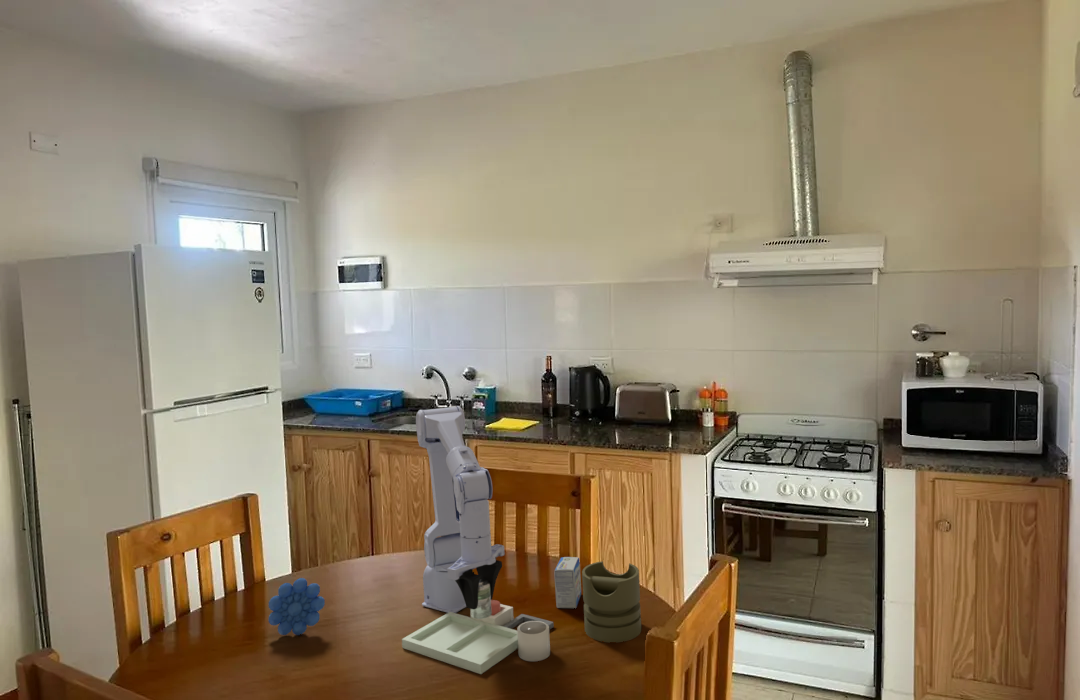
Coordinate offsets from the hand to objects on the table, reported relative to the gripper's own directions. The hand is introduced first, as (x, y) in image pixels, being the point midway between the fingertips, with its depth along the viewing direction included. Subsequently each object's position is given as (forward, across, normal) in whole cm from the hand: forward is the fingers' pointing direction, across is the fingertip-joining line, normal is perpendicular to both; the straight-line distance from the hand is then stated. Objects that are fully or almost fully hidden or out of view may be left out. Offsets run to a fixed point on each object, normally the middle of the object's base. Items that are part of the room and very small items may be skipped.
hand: (479, 603), depth 140 cm
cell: (+2, 0, 0) cm, 2 cm away
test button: (+9, +10, +6) cm, 15 cm away
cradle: (+9, +11, -2) cm, 15 cm away
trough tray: (+9, 0, +4) cm, 10 cm away
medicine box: (+10, +27, -2) cm, 29 cm away
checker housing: (+9, +10, +6) cm, 15 cm away
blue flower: (+10, -13, +38) cm, 42 cm away
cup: (+9, +4, -10) cm, 14 cm away
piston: (+10, +20, -18) cm, 28 cm away
